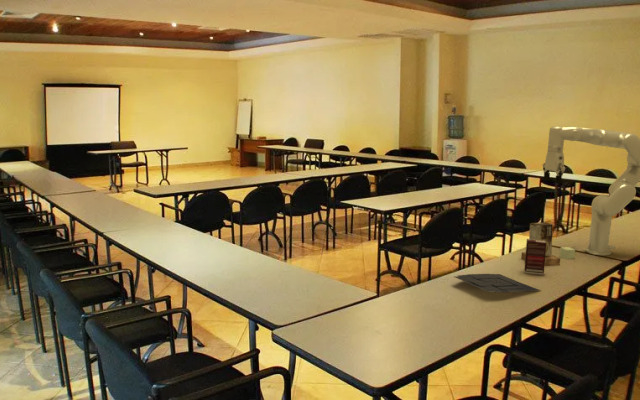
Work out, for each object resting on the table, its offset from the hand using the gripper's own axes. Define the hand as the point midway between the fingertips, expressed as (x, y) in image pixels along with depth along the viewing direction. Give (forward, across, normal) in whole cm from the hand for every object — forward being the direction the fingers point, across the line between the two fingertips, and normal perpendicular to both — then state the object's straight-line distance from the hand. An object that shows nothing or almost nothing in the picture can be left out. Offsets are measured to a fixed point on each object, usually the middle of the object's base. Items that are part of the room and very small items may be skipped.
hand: (552, 181), depth 276 cm
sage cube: (+38, -15, -2) cm, 41 cm away
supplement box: (+38, -34, +31) cm, 60 cm away
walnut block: (+39, -19, +17) cm, 47 cm away
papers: (+39, -49, +60) cm, 87 cm away
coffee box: (+35, -19, +17) cm, 43 cm away
